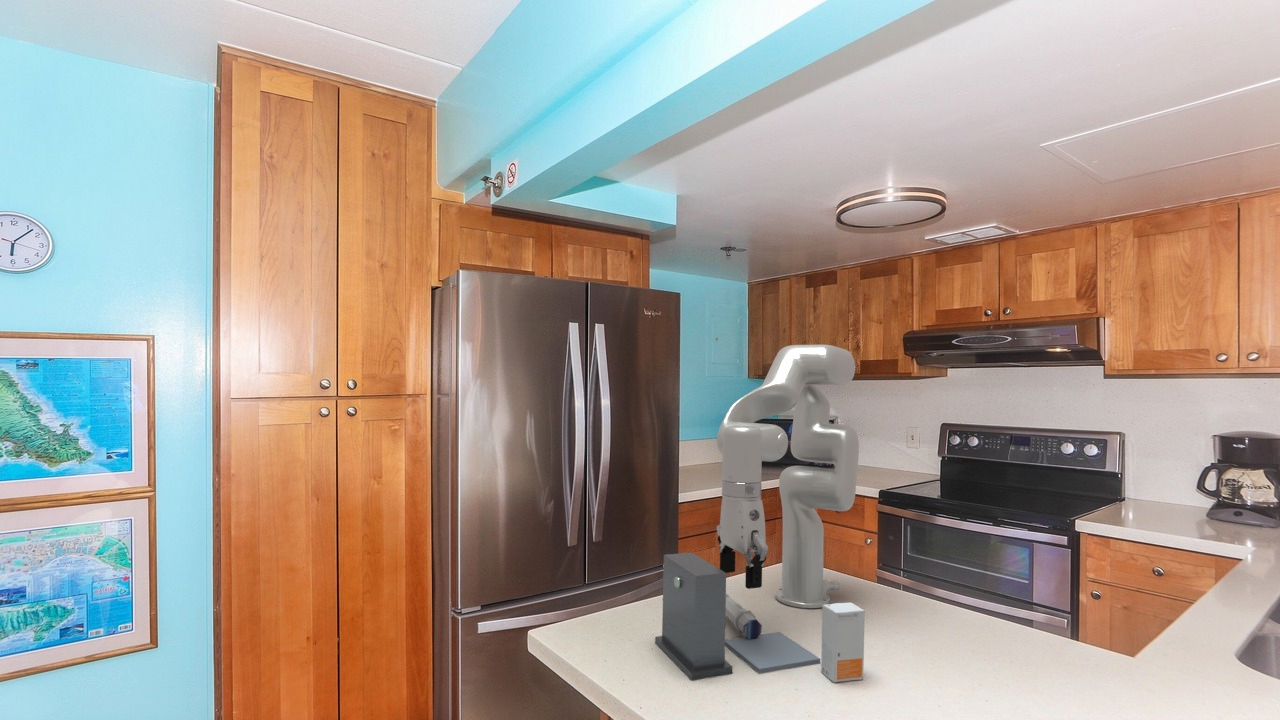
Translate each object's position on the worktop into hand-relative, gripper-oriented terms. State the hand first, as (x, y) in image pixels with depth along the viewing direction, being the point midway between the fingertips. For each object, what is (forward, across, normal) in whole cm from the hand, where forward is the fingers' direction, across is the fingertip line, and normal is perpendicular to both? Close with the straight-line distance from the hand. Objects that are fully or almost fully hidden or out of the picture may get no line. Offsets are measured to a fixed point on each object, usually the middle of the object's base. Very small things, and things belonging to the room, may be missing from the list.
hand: (740, 579), depth 118 cm
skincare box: (+14, -15, -12) cm, 23 cm away
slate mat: (+13, -3, -5) cm, 15 cm away
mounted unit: (+13, 0, +10) cm, 17 cm away
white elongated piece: (+13, +14, -5) cm, 20 cm away
